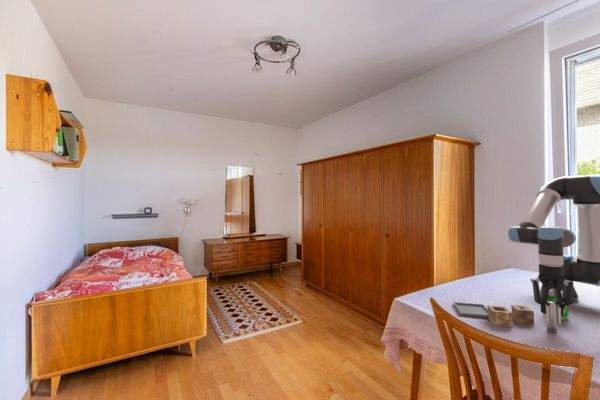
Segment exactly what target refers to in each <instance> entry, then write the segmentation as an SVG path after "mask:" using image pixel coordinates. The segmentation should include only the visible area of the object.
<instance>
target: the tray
mask: <svg viewBox="0 0 600 400" xmlns="http://www.w3.org/2000/svg"><path fill="white" fill-rule="evenodd" d="M453 307H454V308H455V310H456V313H458V315H459V317H467V318H468V317H469V318H479V319H488V311H487V306H486V305H485V304H484V303H482V304H481V303H471V302H457V301H453Z"/></svg>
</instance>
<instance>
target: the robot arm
mask: <svg viewBox="0 0 600 400" xmlns="http://www.w3.org/2000/svg"><path fill="white" fill-rule="evenodd" d="M565 200H570V201H572V204H573V205H574V206H576V207H577V216H578V231H579V232H578V234H579V245H580V247H579V248H580V253H579V254H578V255H577V256H576V258H574V255H572V254H568V253H564V248H567V247H571V246H572V245H573V244H574V243H576V240H577V237H576V235H575V233H574V232H573V231H572V230H570V229H567V228H566V229H565V228H562V227H560V226H555V225H554V226H553V225H545V226H543V225H544V223H545V222H546V220H547V218H548V216H549V215H550V213H552V210H553V208H554V207H555V205H556V204H558V203H560V202H561V201H565ZM507 237H508V239H509V240H510V242H512V243H517V244H526V245H528V244H529V245H536V246H537V245H538V253H537V254H538V263H539V264H538V275H537V277H536V278H530V280H529V281H530V282H531V284H532V290H533V299H534V302H535V303H537V304H538V305H540V313H542V315H543V318H542V319H543V321H544V322H546V324H547V323H549V307H548V306H547V299H548V294H549V290H550V289H554V293H555V298H556V302H557V305H558V306H557V324H559V325H560V324H562V320H561V315H563V308H565V306H568V307H570V304H574V303H576V304H577V303H579V302H580V301H579V295H578V293H577V291H576V290H577V289H576V287H575V286H574V282H576V283H580V284H587V285H591V286H597V287H600V174H588V175H587V174H586V175H572V176H570V175H569V176H561V177H558V178H554V179H552V180H551V181H548V182H547V183H545V184H544V185H543V186H542V187H540V189H539V190H538V191H537V193H536V199H535V201H534V202H533V204H532V206H530V208H529V209H528V212H527V213H526V214H525V216H524V217H523V219H522V220H521V222H520V224H519V225H518V226H517V225H515V226H511V227H509V228H508V232H507ZM540 283H541V286H540V285H539V284H540ZM561 290H562V291H563V298H562V295H561Z"/></svg>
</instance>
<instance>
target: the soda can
mask: <svg viewBox="0 0 600 400" xmlns="http://www.w3.org/2000/svg"><path fill="white" fill-rule="evenodd" d="M561 295H562V298H563V291H562V290H561ZM547 301H553V302H556V298H555V293H554V289H550V290H549V294H548V299H547ZM556 303H557V302H556ZM557 306H558V305H557ZM568 318H569V306H565V308H563V315H561V321H565V320H567V319H568Z"/></svg>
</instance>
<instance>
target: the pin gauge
mask: <svg viewBox="0 0 600 400" xmlns="http://www.w3.org/2000/svg"><path fill="white" fill-rule="evenodd" d="M547 306H548V307H549V323H547V322H546V331H547V332H548V331H549V333H550V332H551V334H558V323H557V303H556V302H553V301H547Z"/></svg>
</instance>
